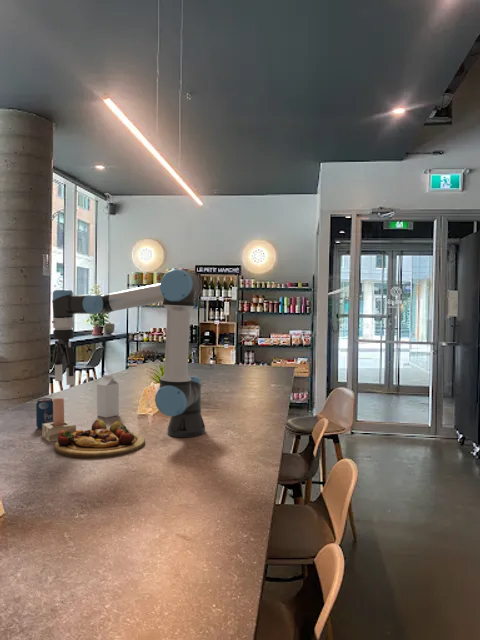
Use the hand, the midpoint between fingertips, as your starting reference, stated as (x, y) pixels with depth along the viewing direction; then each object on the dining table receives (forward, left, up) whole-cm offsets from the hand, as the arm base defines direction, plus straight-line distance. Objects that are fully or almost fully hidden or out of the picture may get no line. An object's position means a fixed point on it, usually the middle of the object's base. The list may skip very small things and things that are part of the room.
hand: (64, 382), depth 194 cm
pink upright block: (-1, +3, -20) cm, 20 cm away
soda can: (+18, +3, -21) cm, 28 cm away
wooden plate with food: (-22, -6, -22) cm, 32 cm away
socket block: (-1, +3, -21) cm, 21 cm away
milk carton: (+24, -27, -21) cm, 42 cm away
